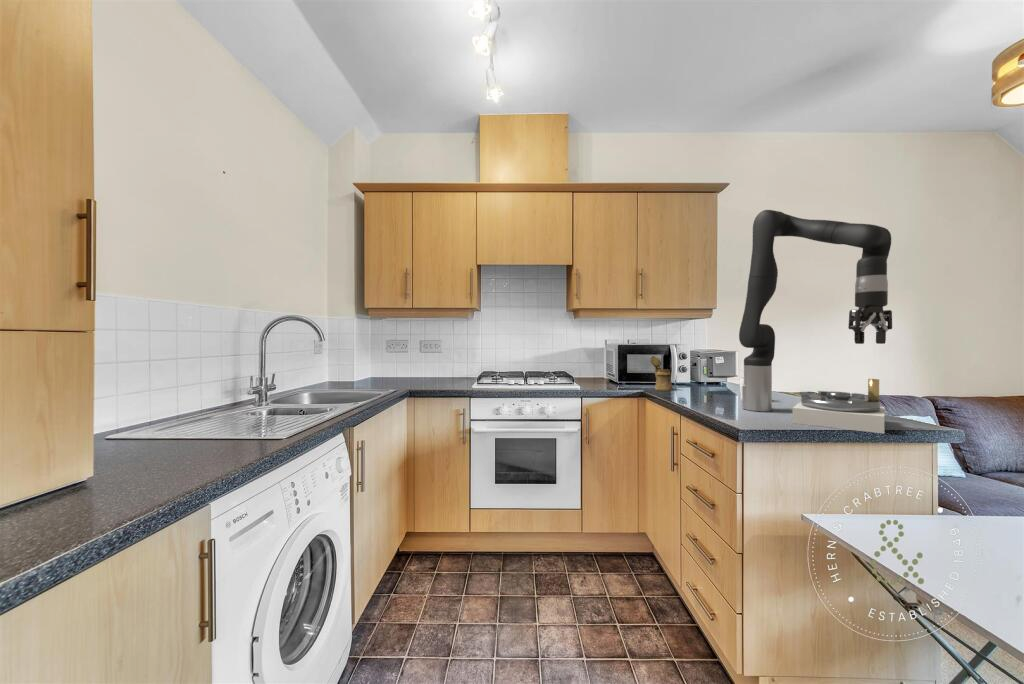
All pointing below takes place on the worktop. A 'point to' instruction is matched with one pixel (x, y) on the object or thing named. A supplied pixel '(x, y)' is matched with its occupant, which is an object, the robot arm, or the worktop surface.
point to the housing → (840, 418)
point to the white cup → (741, 385)
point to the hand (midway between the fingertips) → (870, 343)
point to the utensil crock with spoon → (661, 376)
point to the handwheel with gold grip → (845, 399)
